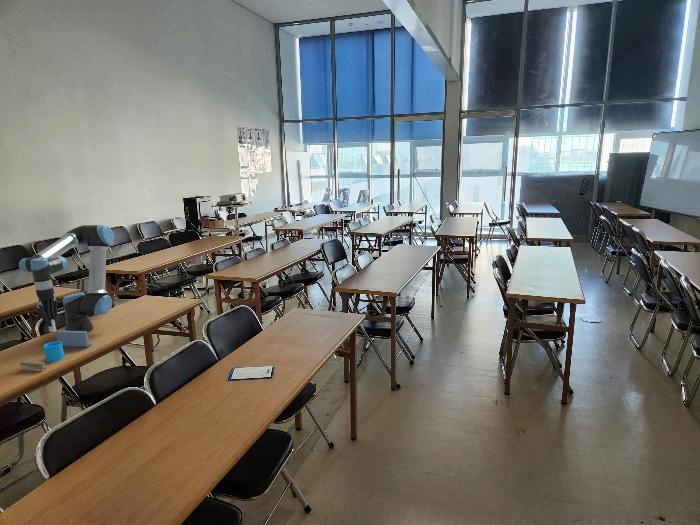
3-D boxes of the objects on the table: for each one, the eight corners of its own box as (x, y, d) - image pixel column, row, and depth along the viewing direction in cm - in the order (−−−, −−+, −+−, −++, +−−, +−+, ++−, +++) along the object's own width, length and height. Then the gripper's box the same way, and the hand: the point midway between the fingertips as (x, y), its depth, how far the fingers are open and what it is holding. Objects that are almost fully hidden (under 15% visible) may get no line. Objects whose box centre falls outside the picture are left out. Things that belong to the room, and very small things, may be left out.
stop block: (24, 368, 225) (23, 361, 224) (46, 369, 223) (44, 361, 222) (21, 370, 223) (19, 362, 222) (42, 371, 221) (41, 363, 221)
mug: (62, 360, 233) (59, 345, 231) (44, 363, 230) (41, 348, 228) (67, 351, 244) (64, 337, 242) (50, 354, 241) (47, 340, 239)
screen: (63, 344, 254) (60, 329, 252) (92, 345, 252) (89, 330, 250) (58, 346, 251) (55, 331, 249) (87, 347, 248) (84, 332, 246)
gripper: (47, 284, 236) (56, 326, 242) (27, 292, 224) (36, 336, 229) (60, 284, 235) (68, 326, 241) (40, 292, 223) (49, 336, 228)
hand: (52, 331), depth 235 cm, fingers closed
